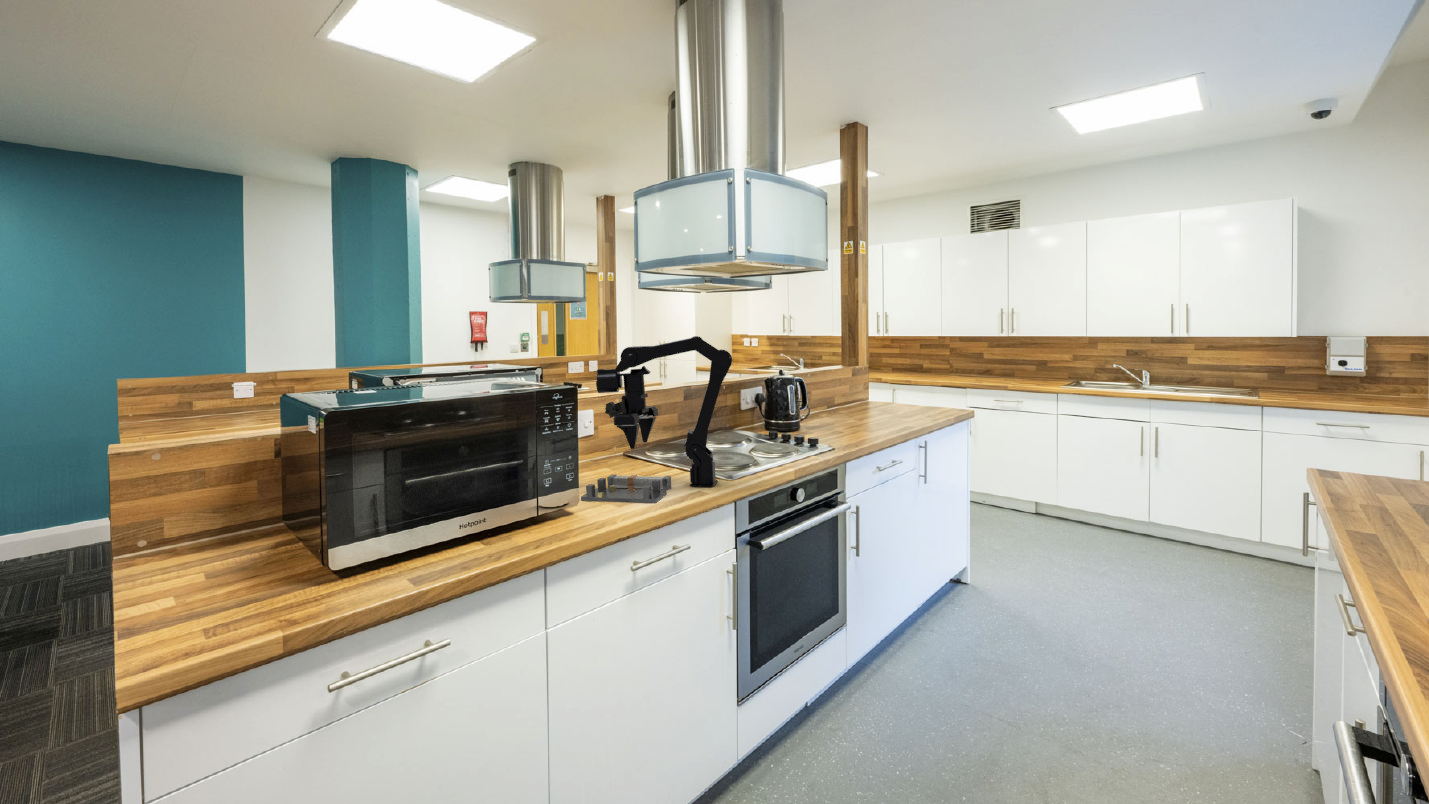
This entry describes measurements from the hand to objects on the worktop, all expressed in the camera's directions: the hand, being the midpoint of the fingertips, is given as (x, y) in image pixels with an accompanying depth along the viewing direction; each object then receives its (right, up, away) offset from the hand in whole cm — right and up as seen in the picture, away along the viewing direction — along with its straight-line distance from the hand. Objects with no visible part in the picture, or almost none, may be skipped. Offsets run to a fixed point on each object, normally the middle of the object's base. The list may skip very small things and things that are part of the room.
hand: (638, 445), depth 171 cm
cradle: (-3, -13, -10) cm, 17 cm away
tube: (0, -12, 0) cm, 12 cm away
